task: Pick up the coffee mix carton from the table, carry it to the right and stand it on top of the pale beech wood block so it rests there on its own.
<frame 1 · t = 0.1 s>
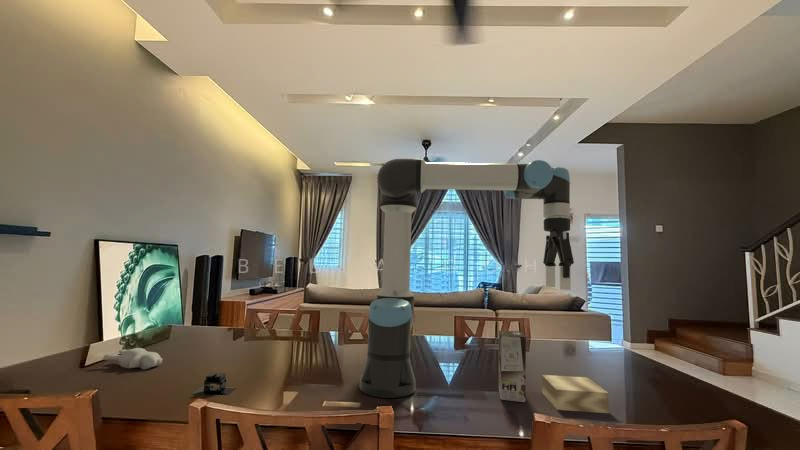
hand: (557, 288, 111), 28 cm above the table, tool pointing down, fingers open, 13 cm apart
coffee box: (511, 396, 97), on the table
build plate: (214, 394, 93), on the table
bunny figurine: (134, 367, 111), on the table
beech block: (573, 403, 94), on the table
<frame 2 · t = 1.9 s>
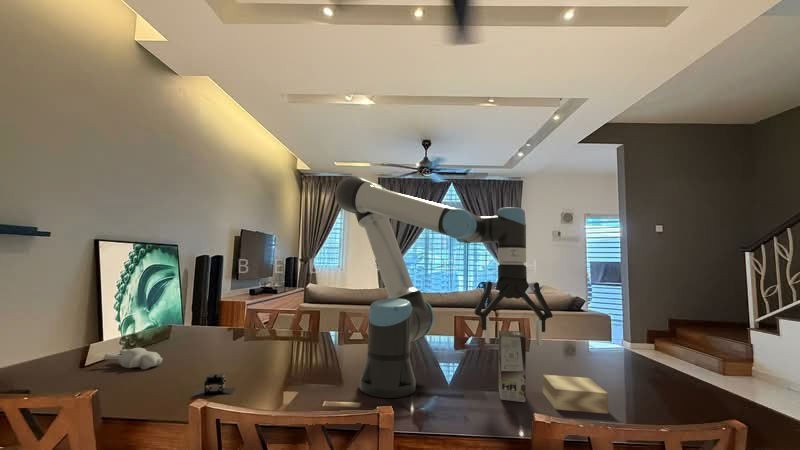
hand: (513, 343, 98), 13 cm above the table, tool pointing down, fingers open, 13 cm apart
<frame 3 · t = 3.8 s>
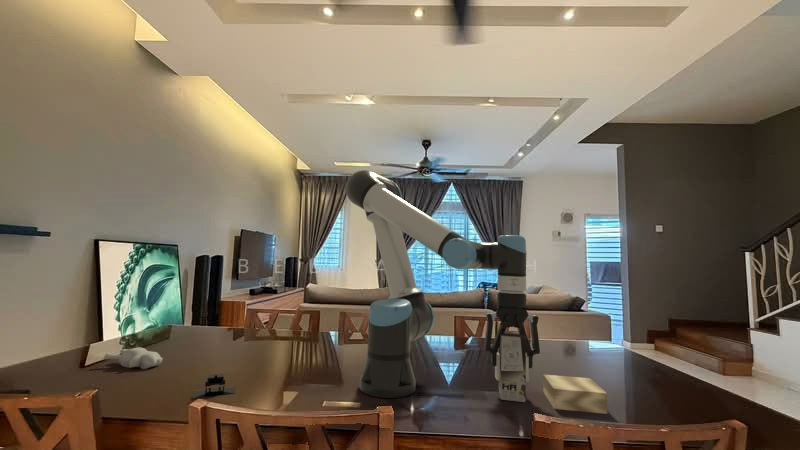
hand: (511, 379, 97), 4 cm above the table, tool pointing down, fingers closed on coffee box, 7 cm apart
coffee box: (511, 396, 97), on the table, touching gripper
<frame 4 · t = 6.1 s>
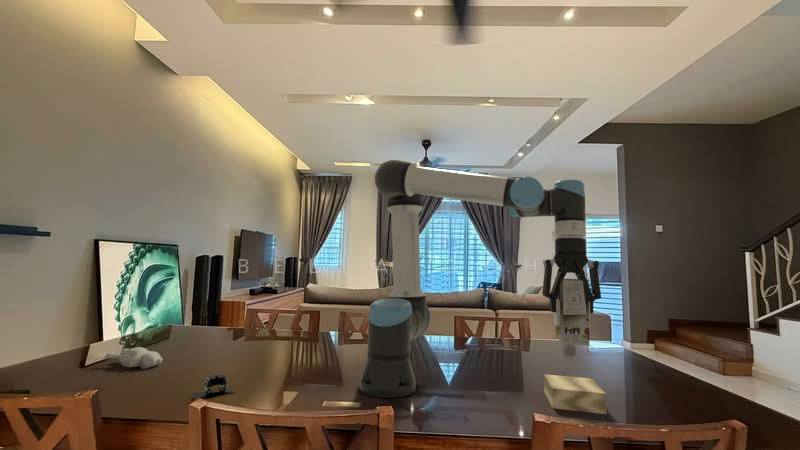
hand: (571, 325, 96), 19 cm above the table, tool pointing down, fingers closed on coffee box, 7 cm apart
coffee box: (572, 342, 95), point 15 cm above the table, touching gripper
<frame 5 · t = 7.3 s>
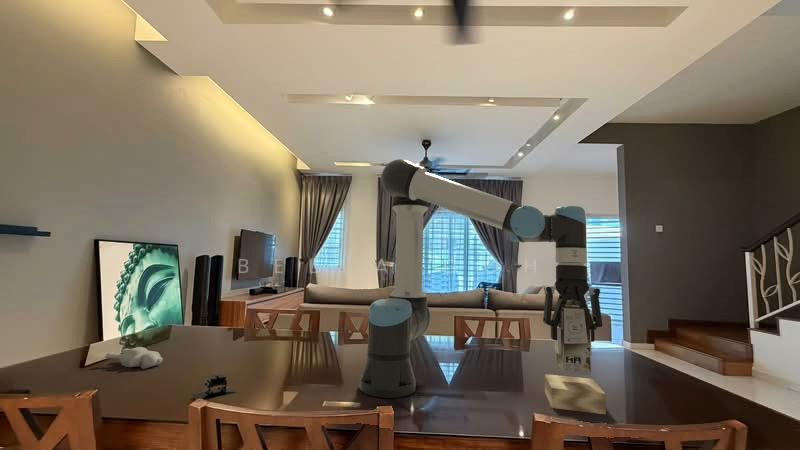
hand: (572, 353, 95), 12 cm above the table, tool pointing down, fingers closed on coffee box, 7 cm apart
coffee box: (573, 370, 94), point 8 cm above the table, touching gripper
when the fingers open (10 cm above the table, at t = 8.4 s): coffee box drops 2 cm, point 4 cm above the table.
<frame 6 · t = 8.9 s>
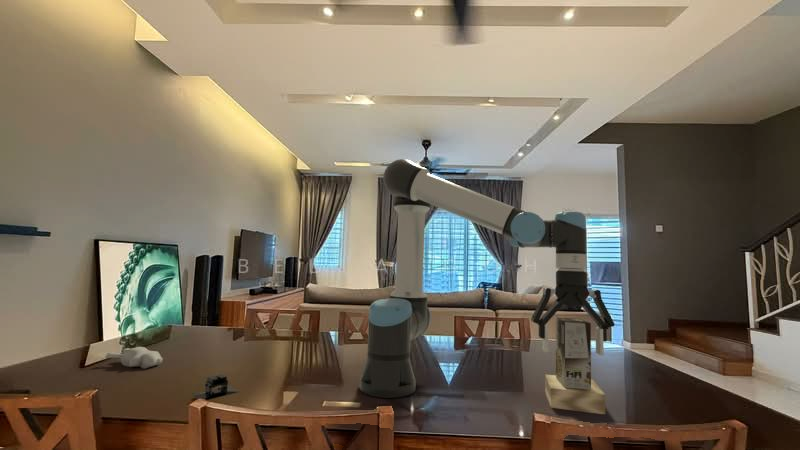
hand: (572, 352, 95), 12 cm above the table, tool pointing down, fingers open, 13 cm apart
coffee box: (572, 384, 94), point 4 cm above the table
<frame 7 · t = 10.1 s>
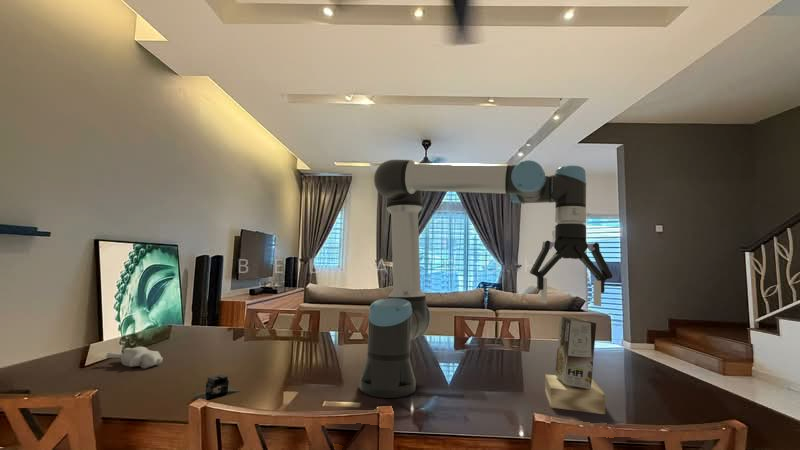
hand: (570, 304, 96), 25 cm above the table, tool pointing down, fingers open, 13 cm apart
coffee box: (572, 382, 94), point 5 cm above the table, touching beech block
beech block: (572, 403, 94), on the table, touching coffee box
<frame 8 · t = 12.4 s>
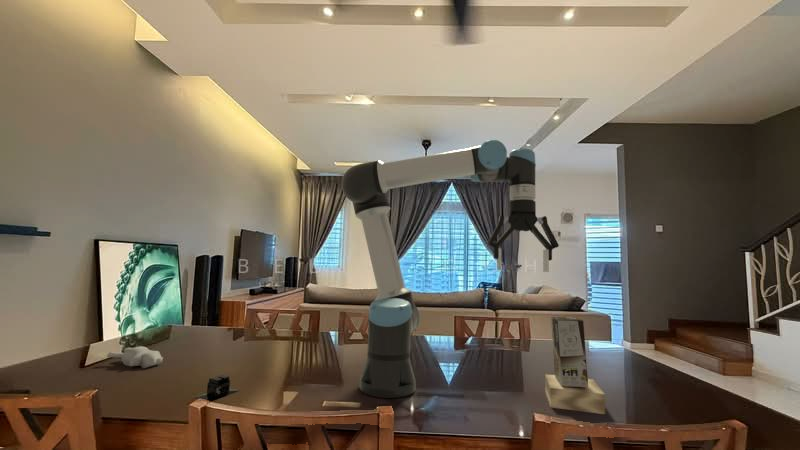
hand: (522, 271, 109), 33 cm above the table, tool pointing down, fingers open, 13 cm apart
at the end: coffee box 0.4 cm from the beech block (horizontally); coffee box point 4.7 cm above the table; coffee box tilted 5° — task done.
